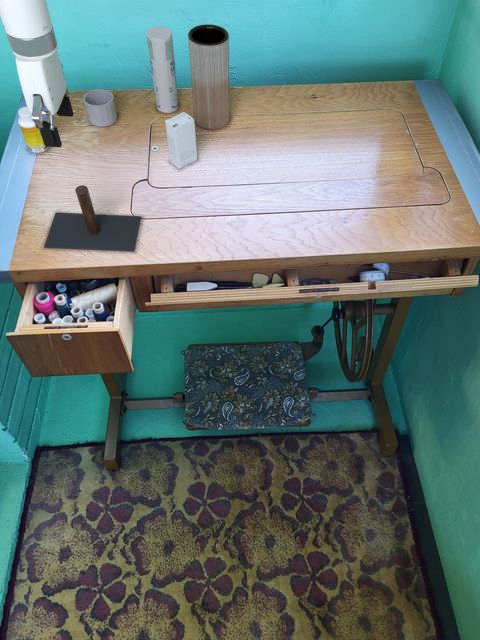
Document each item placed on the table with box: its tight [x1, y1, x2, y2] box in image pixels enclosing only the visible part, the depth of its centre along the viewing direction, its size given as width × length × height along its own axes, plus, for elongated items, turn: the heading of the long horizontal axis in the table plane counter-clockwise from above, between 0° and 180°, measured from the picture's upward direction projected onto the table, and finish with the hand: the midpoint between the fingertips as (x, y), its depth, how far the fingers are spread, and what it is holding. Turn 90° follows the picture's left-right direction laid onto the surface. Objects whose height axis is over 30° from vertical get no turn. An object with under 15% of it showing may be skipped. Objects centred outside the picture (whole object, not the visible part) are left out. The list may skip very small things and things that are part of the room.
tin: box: [82, 88, 118, 128], centre depth 142 cm, size 8×8×6 cm
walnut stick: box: [74, 184, 100, 235], centre depth 116 cm, size 3×3×12 cm
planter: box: [187, 23, 231, 130], centre depth 137 cm, size 10×10×23 cm
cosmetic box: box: [164, 111, 198, 170], centre depth 131 cm, size 6×4×12 cm
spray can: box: [145, 26, 179, 114], centre depth 141 cm, size 6×6×20 cm
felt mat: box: [43, 212, 142, 253], centre depth 121 cm, size 20×11×1 cm, turn 89°
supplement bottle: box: [17, 106, 50, 154], centre depth 133 cm, size 6×6×10 cm
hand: (59, 130), depth 102 cm, fingers open, 9 cm apart
